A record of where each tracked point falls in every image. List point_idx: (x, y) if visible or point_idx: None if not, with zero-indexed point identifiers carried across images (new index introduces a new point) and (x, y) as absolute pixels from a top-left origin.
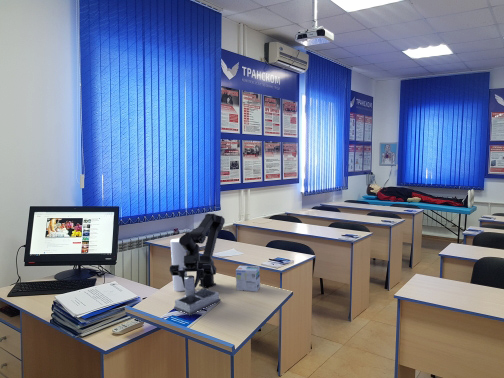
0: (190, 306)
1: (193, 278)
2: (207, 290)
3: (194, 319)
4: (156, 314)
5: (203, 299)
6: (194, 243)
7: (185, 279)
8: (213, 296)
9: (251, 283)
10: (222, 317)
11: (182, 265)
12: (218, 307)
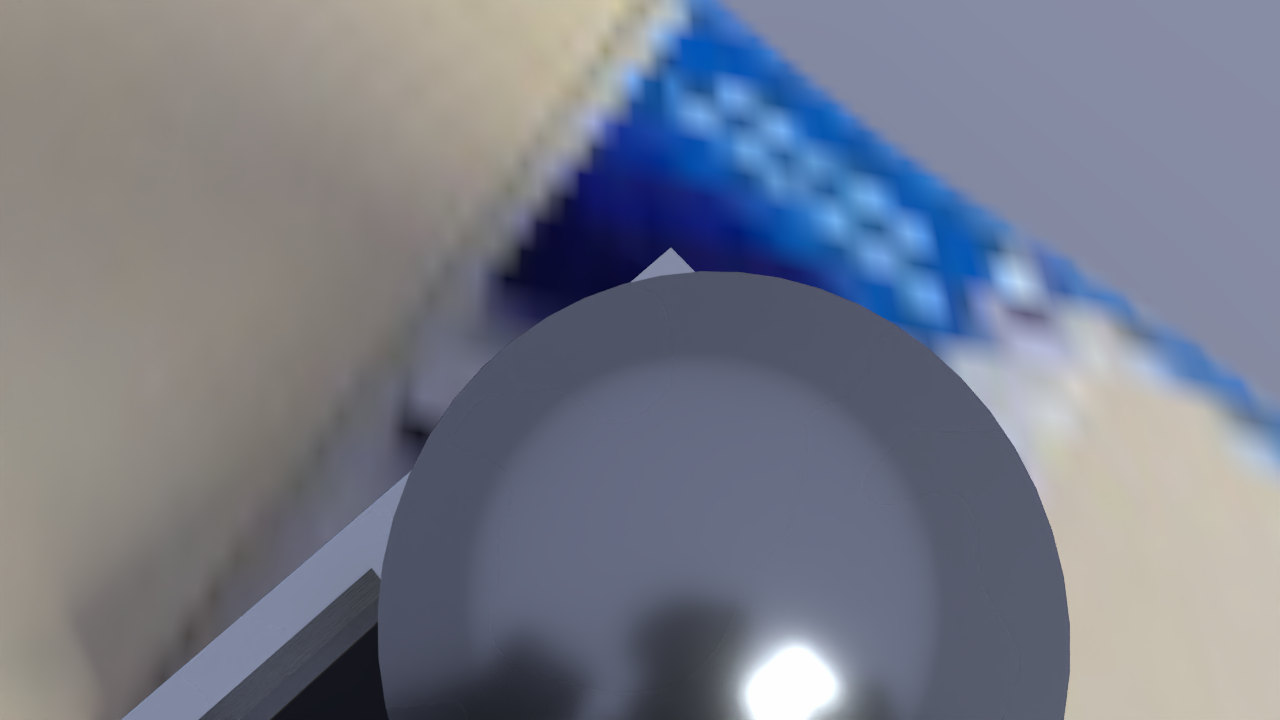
0: (653, 265)
1: (456, 412)
2: None
3: (595, 167)
4: (1198, 432)
5: (388, 503)
6: None
7: (925, 375)
8: (160, 694)
9: None
10: (206, 152)
11: None
12: (198, 492)
